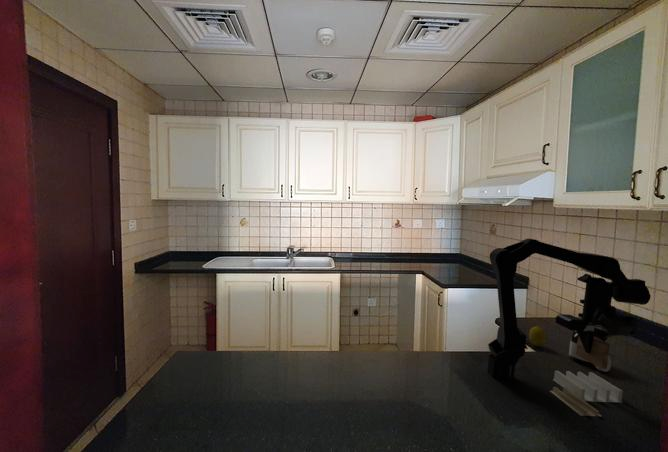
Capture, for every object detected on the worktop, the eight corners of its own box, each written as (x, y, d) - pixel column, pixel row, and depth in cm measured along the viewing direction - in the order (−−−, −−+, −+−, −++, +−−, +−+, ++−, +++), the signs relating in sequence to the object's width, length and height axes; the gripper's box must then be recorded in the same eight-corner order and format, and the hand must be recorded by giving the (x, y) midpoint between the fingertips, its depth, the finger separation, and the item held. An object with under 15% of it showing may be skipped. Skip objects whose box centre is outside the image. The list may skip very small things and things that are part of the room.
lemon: (547, 350, 112) (550, 329, 112) (531, 348, 113) (534, 327, 113) (540, 344, 118) (543, 324, 117) (525, 341, 119) (527, 322, 118)
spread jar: (570, 352, 112) (573, 322, 112) (610, 364, 104) (615, 332, 104) (565, 362, 104) (569, 329, 103) (609, 376, 96) (614, 341, 95)
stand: (580, 418, 74) (581, 410, 74) (549, 393, 84) (550, 386, 84) (601, 419, 74) (602, 411, 74) (568, 394, 84) (568, 387, 84)
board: (601, 368, 80) (604, 343, 80) (575, 354, 88) (578, 331, 88) (606, 368, 80) (609, 343, 80) (581, 354, 88) (583, 331, 88)
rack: (581, 403, 80) (582, 390, 80) (552, 381, 90) (553, 369, 90) (622, 405, 81) (624, 391, 80) (589, 383, 91) (591, 371, 90)
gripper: (591, 307, 75) (584, 366, 76) (661, 311, 76) (653, 369, 77) (557, 294, 86) (551, 346, 87) (618, 298, 87) (611, 349, 88)
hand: (590, 352), depth 84 cm, fingers closed on board, 2 cm apart
